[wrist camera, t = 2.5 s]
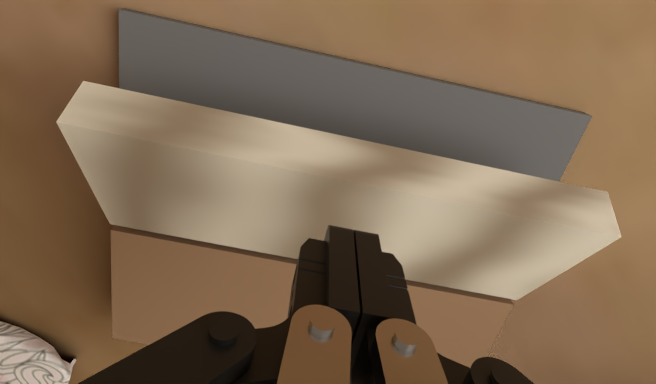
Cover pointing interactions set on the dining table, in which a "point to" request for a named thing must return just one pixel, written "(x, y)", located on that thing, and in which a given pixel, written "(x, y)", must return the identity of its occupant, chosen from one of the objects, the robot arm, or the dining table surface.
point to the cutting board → (328, 116)
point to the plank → (327, 193)
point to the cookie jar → (30, 359)
